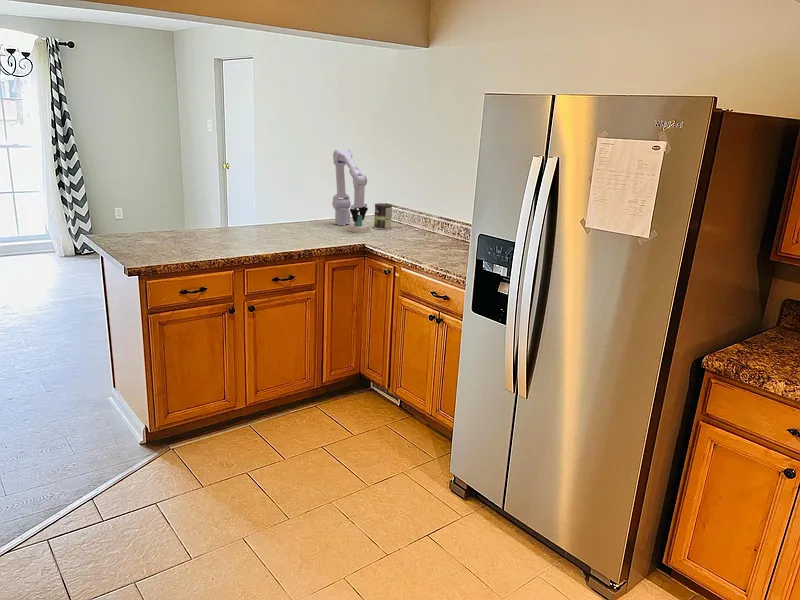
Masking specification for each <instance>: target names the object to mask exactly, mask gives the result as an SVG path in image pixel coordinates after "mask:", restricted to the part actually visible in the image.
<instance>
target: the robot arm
mask: <svg viewBox="0 0 800 600" xmlns="http://www.w3.org/2000/svg"><path fill="white" fill-rule="evenodd" d="M332 156H333V157H332V160H333V165H335V179H336V180H335V181H336V193H335V195H333V196H332V203H331V204H332V207H333V209H334V210H335V211H334V213H335V214H334V222H332V225H335V224H337V226H342V225H344V226H347V225H346V224H348V225H350V224H349V223H351V217H352V221H353V222H357V218H358V215H362V221H364V220H365V216H366V215H367V211H368V210H369V207H368V203H366V202H365V192H366V191H365V187H366V185H367V183H368V179H367V175H364V174H363V173H362V172H361V170H360V168H359V166H357V165H356V164H355V162H354V161H353V152H352V150H351V149H335V150H334V151H333V153H332ZM345 166H347V167H348V168H349V171H348V172H349V175H350V176H351V178H352V184H353V189H354V196H353V197H354V198H353V199H354V200H353V204H351V203H352V202H351V199H350V198H351V197H350V195H348V194H347V193H346V179H345V178H346V177H345Z"/></svg>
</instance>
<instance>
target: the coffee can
mask: <svg viewBox="0 0 800 600" xmlns="http://www.w3.org/2000/svg"><path fill="white" fill-rule="evenodd" d="M392 209H393V205H392V204H390V203H382V202H381V203H374V219H373V221H374V222H373V224H374V225H373V228H374V229H375V228H378V229H377V230H381V229H388V230H391V229H392V227H391V226H392V215H393V214H392V211H393V210H392ZM390 228H391V229H390Z"/></svg>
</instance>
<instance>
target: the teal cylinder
mask: <svg viewBox="0 0 800 600" xmlns="http://www.w3.org/2000/svg"><path fill="white" fill-rule="evenodd" d="M353 222H354V221H353ZM353 224H354V226H362V225H363V220H362V215H360V214H358V218H357V222H354V223H353Z"/></svg>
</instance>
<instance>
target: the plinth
mask: <svg viewBox="0 0 800 600" xmlns="http://www.w3.org/2000/svg"><path fill="white" fill-rule="evenodd" d="M345 226H346V228H345V232H350V231H352V232H353V233H357V232H359V233H358V234H363V233H362V232H364V233H366V231H367V232H370V231H371V225H367V224H362V226H354V223H351V224H348V225H345ZM369 230H370V231H369ZM352 232H351V233H352Z"/></svg>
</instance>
